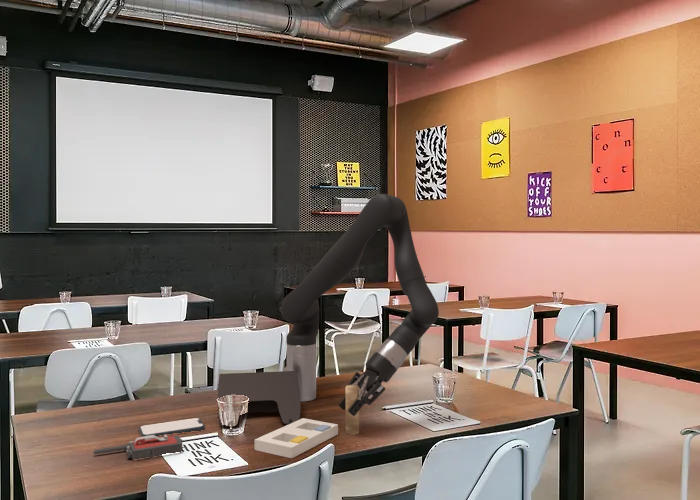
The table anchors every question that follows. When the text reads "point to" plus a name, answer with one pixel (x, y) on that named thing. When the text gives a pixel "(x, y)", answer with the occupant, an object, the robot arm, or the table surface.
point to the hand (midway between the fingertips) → (346, 410)
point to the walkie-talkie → (148, 446)
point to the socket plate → (296, 437)
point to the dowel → (351, 397)
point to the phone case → (172, 427)
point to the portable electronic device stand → (265, 392)
